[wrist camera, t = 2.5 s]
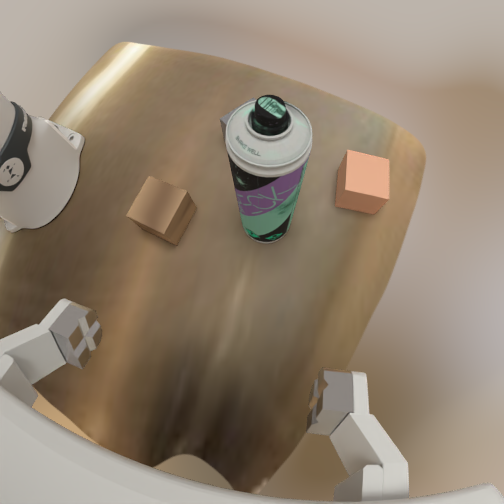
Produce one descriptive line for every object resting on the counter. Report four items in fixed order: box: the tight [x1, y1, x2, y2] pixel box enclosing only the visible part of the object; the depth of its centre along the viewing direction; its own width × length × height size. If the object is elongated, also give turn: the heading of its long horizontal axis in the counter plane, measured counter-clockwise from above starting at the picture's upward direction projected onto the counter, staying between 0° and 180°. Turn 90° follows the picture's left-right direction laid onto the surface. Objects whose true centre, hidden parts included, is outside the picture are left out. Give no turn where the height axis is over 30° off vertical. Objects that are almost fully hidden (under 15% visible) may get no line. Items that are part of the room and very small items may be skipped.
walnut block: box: [126, 176, 197, 246], centre depth 33 cm, size 5×5×5 cm
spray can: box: [225, 95, 312, 243], centre depth 25 cm, size 6×6×20 cm
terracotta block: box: [335, 150, 389, 214], centre depth 33 cm, size 5×5×5 cm
